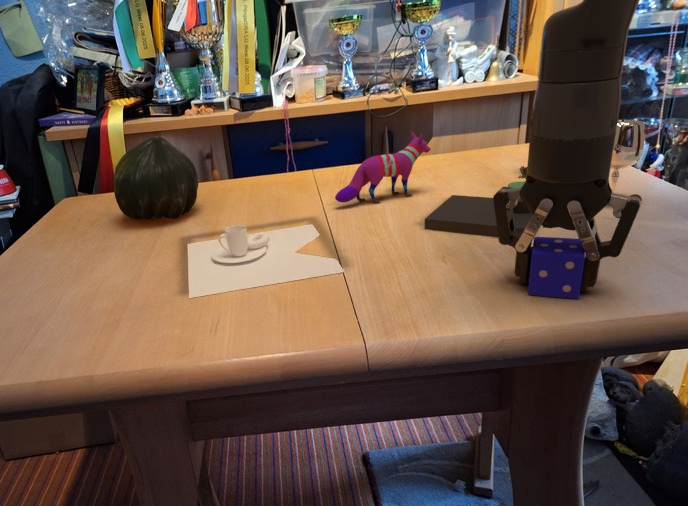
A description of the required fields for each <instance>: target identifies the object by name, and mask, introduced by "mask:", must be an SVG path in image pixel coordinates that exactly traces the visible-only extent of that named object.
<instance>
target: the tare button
mask: <svg viewBox="0 0 688 506" xmlns="http://www.w3.org/2000/svg"><path fill="white" fill-rule="evenodd" d="M524 183H525V181H521V180H520V181H513V182H512V181H511V182H509V183H508V184H507V187H508V188H509V189H512V188H521V187H522V186H523V185H524ZM519 199H521V198H519Z"/></svg>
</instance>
